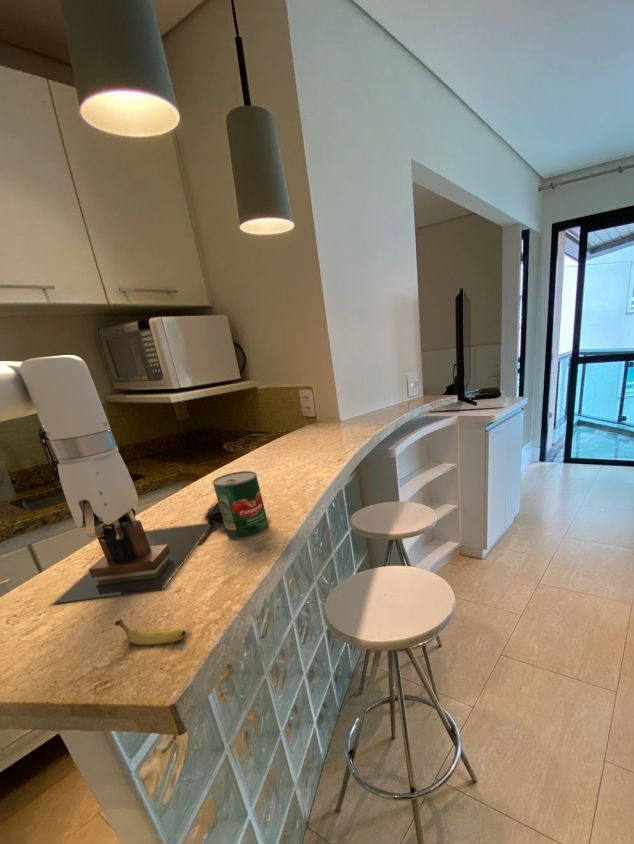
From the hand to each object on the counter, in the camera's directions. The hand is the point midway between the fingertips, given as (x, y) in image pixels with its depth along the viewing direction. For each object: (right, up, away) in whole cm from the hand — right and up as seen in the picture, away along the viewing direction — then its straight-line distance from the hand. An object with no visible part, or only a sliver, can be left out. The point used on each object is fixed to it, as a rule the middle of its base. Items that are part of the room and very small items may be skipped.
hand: (129, 555), depth 67 cm
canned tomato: (+15, +3, +13) cm, 20 cm away
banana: (+14, -10, -16) cm, 23 cm away
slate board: (0, -2, +5) cm, 5 cm away
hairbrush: (+6, +8, +28) cm, 29 cm away
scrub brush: (0, -2, +1) cm, 3 cm away
